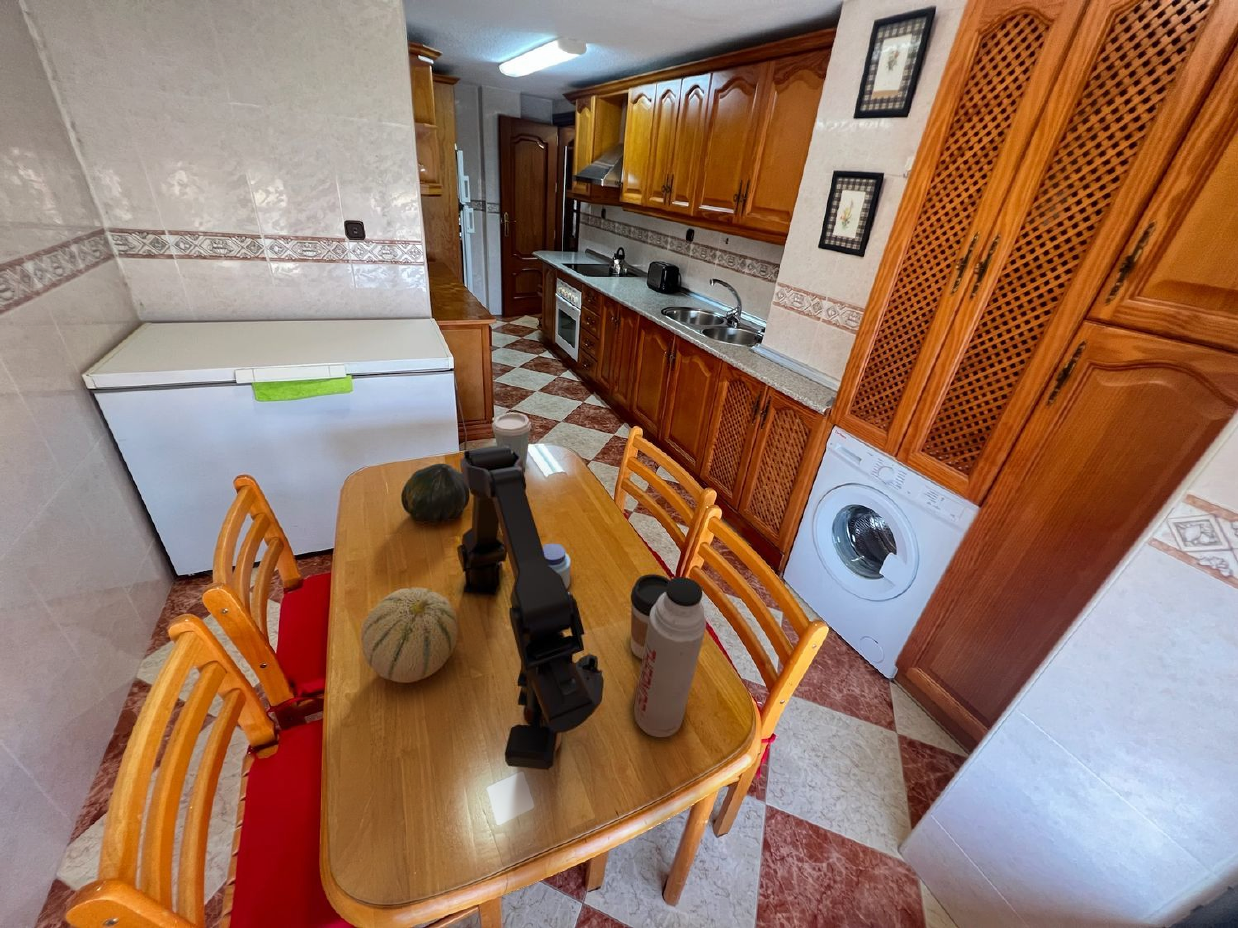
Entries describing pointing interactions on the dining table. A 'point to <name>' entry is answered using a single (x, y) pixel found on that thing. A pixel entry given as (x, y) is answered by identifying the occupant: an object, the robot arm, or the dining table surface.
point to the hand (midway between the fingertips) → (541, 730)
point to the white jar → (558, 560)
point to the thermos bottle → (670, 657)
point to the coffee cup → (644, 608)
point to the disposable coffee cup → (513, 432)
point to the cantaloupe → (409, 634)
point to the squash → (435, 494)
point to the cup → (527, 720)
